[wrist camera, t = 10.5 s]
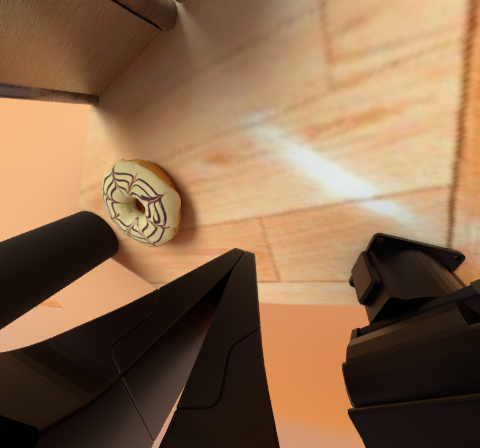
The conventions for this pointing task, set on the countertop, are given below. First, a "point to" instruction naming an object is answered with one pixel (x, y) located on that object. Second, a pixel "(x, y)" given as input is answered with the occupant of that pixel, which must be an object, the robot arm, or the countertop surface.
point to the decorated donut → (142, 201)
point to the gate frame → (73, 45)
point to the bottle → (50, 261)
